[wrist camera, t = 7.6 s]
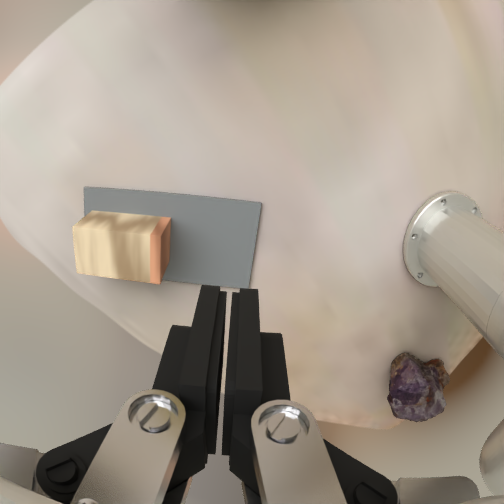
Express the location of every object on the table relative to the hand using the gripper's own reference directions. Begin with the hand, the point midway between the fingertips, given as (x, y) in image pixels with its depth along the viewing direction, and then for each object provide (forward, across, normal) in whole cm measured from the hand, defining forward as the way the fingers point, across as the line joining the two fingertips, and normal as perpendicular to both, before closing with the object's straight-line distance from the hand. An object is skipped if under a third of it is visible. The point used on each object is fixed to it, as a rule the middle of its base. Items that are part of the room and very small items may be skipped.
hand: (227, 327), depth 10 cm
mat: (+24, +8, +7) cm, 26 cm away
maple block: (+21, +7, +7) cm, 23 cm away
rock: (+26, -29, +28) cm, 47 cm away
